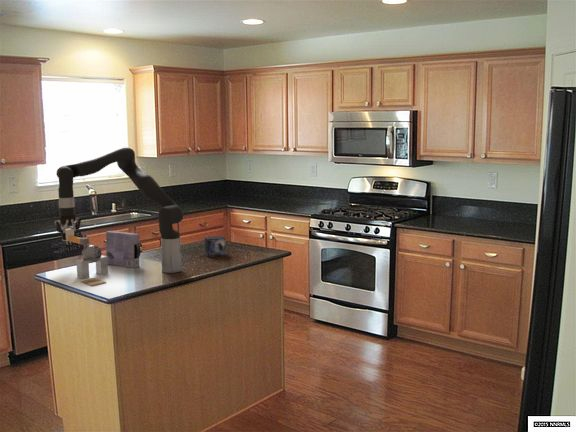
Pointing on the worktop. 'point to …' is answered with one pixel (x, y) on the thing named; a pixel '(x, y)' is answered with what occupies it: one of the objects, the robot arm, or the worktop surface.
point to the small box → (215, 246)
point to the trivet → (93, 281)
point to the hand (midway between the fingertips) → (68, 239)
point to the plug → (75, 239)
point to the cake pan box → (122, 249)
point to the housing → (91, 261)
